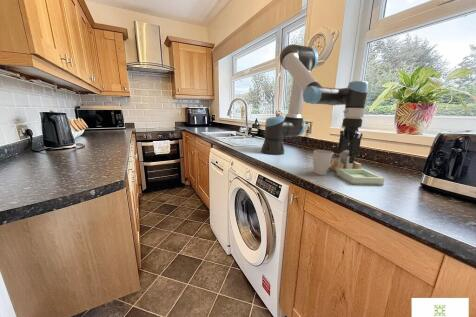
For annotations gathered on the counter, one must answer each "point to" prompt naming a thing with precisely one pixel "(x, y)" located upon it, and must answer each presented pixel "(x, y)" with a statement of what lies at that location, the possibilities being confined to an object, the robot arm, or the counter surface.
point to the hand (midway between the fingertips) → (344, 167)
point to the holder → (339, 165)
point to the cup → (322, 161)
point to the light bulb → (344, 157)
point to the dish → (360, 177)
